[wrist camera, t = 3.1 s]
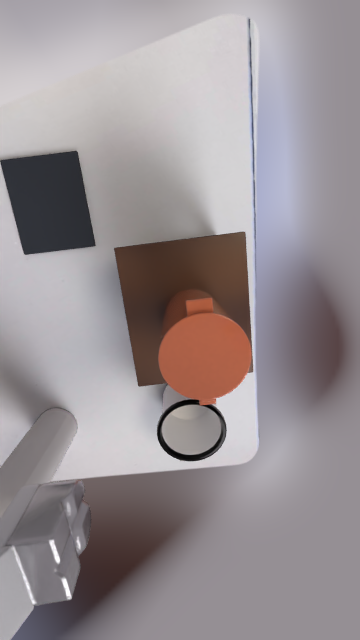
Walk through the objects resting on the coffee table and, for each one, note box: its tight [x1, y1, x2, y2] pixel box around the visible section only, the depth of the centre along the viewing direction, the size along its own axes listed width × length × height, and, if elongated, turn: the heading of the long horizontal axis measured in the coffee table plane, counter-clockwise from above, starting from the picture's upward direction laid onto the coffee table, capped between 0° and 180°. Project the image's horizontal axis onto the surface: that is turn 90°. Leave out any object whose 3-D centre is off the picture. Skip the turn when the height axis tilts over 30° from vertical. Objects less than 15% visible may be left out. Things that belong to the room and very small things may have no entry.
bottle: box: [0, 408, 78, 519], centre depth 32 cm, size 7×7×28 cm
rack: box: [114, 232, 253, 386], centre depth 34 cm, size 14×12×15 cm
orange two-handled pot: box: [158, 289, 252, 405], centre depth 22 cm, size 8×6×10 cm
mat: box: [0, 151, 95, 255], centre depth 37 cm, size 12×10×1 cm
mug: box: [157, 385, 227, 461], centre depth 41 cm, size 12×10×9 cm
